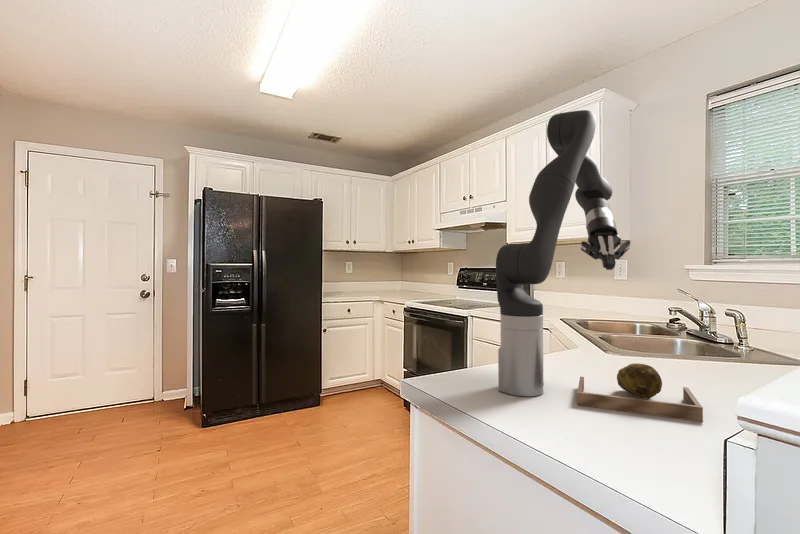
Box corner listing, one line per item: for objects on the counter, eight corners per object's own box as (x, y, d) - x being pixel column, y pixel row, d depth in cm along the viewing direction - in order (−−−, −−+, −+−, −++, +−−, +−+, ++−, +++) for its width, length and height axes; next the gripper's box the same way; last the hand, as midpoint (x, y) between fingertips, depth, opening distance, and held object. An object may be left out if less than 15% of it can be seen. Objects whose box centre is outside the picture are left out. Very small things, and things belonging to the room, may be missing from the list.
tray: (577, 405, 82) (577, 392, 82) (580, 387, 94) (580, 376, 94) (702, 421, 72) (702, 407, 72) (688, 399, 85) (687, 387, 85)
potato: (660, 393, 89) (659, 357, 89) (663, 411, 78) (662, 369, 78) (617, 388, 93) (616, 353, 93) (614, 404, 82) (614, 364, 82)
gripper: (577, 216, 118) (584, 257, 106) (628, 214, 114) (641, 256, 102) (575, 236, 123) (581, 277, 111) (623, 235, 119) (635, 277, 107)
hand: (610, 267), depth 106 cm, fingers closed
